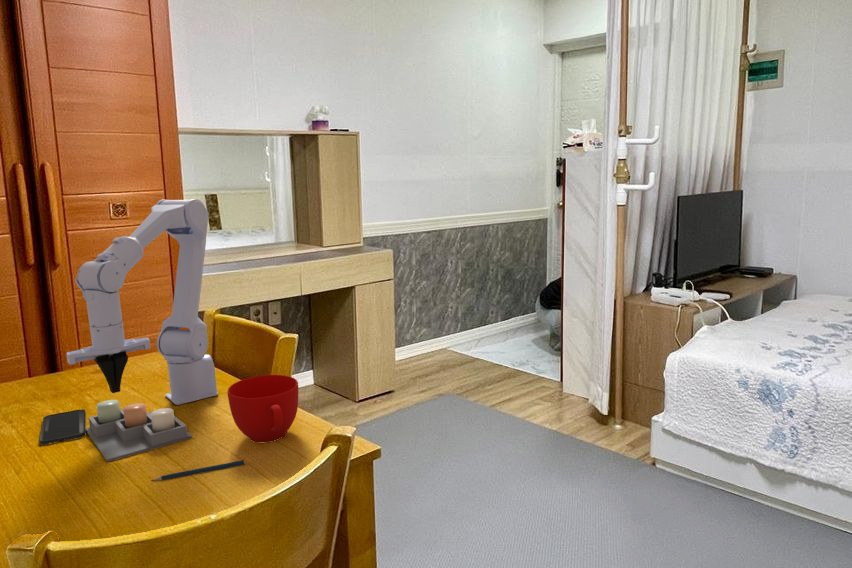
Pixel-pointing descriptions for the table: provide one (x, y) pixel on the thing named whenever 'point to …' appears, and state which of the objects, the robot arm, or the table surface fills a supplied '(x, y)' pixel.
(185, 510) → the table surface
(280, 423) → the ceramic cup
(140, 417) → the terracotta key
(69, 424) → the phone
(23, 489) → the table surface
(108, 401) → the pale green rounded block
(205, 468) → the pencil
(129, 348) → the robot arm
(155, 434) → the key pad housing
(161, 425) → the ivory key
